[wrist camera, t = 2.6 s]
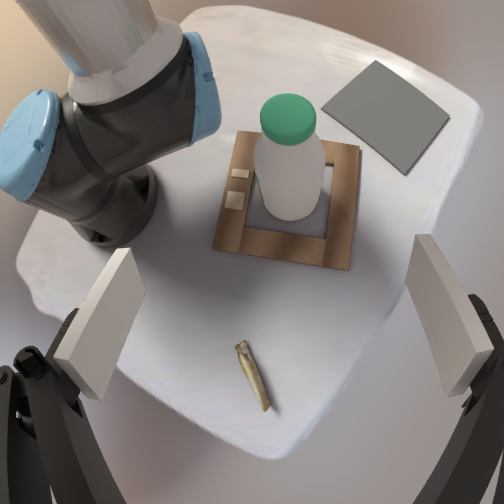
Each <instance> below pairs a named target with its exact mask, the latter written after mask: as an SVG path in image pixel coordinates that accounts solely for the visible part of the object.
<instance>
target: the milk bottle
mask: <svg viewBox="0 0 504 504" xmlns="http://www.w3.org/2000/svg"><path fill="white" fill-rule="evenodd" d="M260 123H261V127H262V134H261V136H260V137H259V139H258V141H257V143H256V146H255V150H254V169H255V174H256V178H257V182H258V186H259V189H260V193H261V197H262V200H263V203H264V205H265V207H266V209H267V210H268V211H269V212H270V213H271V214H272V215H273V216H275V217H276V218H279V219H281V220H285V221H296V220H300V219H303V218H305V217H306V216H308V215H309V214H310V213H311V212H312V211H313V210H314V208H315V207H316V205H317V202H318V199H319V195H320V191H321V186H322V182H323V177H324V171H325V163H326V160H325V151H324V148H323V145H322V142H321V141H320V139H319V137H318V136H317V134H316V133H315V126H316V112H315V110H314V107H313V106H312V104H311V103H310V102H309V101H308V100H307V99H305V98H304V97H302V96H299V95H296V94H289V93H286V94H279V95H276V96H274V97H272V98H270V99H269V100H268V101H267V102H266V103H265V104H264V105H263V107H262V109H261V112H260Z"/></svg>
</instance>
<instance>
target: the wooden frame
mask: <svg viewBox="0 0 504 504" xmlns="http://www.w3.org/2000/svg"><path fill="white" fill-rule="evenodd" d="M261 134H262V133H259V132H248V131H238V132H237V137H236V141H235V145H234V150H233V154H232V159H231V163H230V168H229V173H228V177H227V182H226V187H225V191H224V196H223V201H222V206H221V211H220V215H219V220H218V225H217V230H216V235H215V240H214V246H213V249H214V250H220V251H227V252H233V253H239V254H246V255H252V256H259V257H265V258H271V259H278V260H284V261H291V262H297V263H304V264H310V265H317V266H323V267H329V268H336V269H342V270H348V269H349V262H350V254H351V245H352V237H353V227H354V217H355V206H356V195H357V181H358V166H359V147H360V146H356V145H350V144H344V143H338V142H332V141H325V140H320V141H321V142H322V145H323V148H324V151H325V160H326V163H325V164H330V165H334V168H333V178H332V188H331V197H330V206H329V215H328V223H327V231H326V239H321V238H314V237H308V236H301V235H295V234H288V233H281V232H275V231H268V230H261V229H254V228H247V227H244V224H245V219H246V213H247V208H248V203H249V197H250V192H251V187H252V181H253V176H254V171H255V169H254V150H255V146H256V143H257V141H258V139H259V137H260V136H261Z"/></svg>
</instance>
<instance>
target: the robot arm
mask: <svg viewBox="0 0 504 504" xmlns="http://www.w3.org/2000/svg"><path fill="white" fill-rule="evenodd" d="M14 1H15V2H16V3H17V4H18V5H19V7H20V8H21V9H22V11H23V12H24V13H25V14H26V16H27V17H28V18H29V20H30V21H31V22H32V23H33V24H34V26H35V27H36V28H37V30H38V31H39V32H40V33H41V34H42V36H43V37H44V38H45V39H46V41H47V42H48V43H49V44H50V46H51V47H52V48H53V49H54V51H55V52H56V53H57V54H58V56H59V57H60V58H61V59H62V60H63V62H64V63H65V64H66V65H67V67H68V68H69V69H70V70H71V73H70V77H69V81H68V92H67V93H66V94H64V95H62V96H61V97H58V96H57V94H56V93H55V92H54V91H49V90H42V89H41V90H37V91H35V92H33V93H31V94H30V95H28V96H27V97H26V98H25V99H24V100H23V101H21V102H20V104H19V105H18V106H17V107H16V108H15V109H14V111H13V112H12V114H11V115H10V117H9V118H8V120H7V121H6V123H5V125H4V127H3V130H2V132H1V134H0V188H1V190H3V191H4V192H6V193H8V194H9V195H11V196H13V197H14V198H15V199H16V200H17V201H19V202H24V203H26V204H29V205H31V206H34V207H36V208H39V209H41V210H43V211H46V212H48V213H51V214H53V215H56V216H58V217H61V218H63V219H65V220H67V221H68V222H69V223H70V224H71V225H72V227H73V228H74V229H75V230H76V231H77V233H78V234H79V235H80V236H81V237H82V238H84V239H85V240H86V241H88V242H90V243H93V244H96V245H98V246H102V247H115V246H119V245H122V244H124V243H126V242H128V241H130V240H131V239H133V238H134V237H135V236H136V235H138V234H139V233H140V232H141V230H142V229H143V228H144V227H145V225H146V224H147V223H148V221H149V219H150V217H151V215H152V213H153V211H154V208H155V204H156V199H157V183H156V179H155V176H154V173H153V171H152V170H151V168H150V167H149V166H148V165H147V163H149V162H151V161H153V160H156V159H158V158H161V157H163V156H165V155H168V154H170V153H173V152H175V151H178V150H180V149H183V148H185V147H190V146H192V145H193V144H194V143H195V142H197V141H199V140H201V139H203V138H206V137H208V136H210V135H212V134H213V133H215V132H216V131H217V130H218V128H219V127H220V124H221V119H222V115H221V106H220V100H219V95H218V90H217V86H216V82H215V79H214V77H213V72H212V68H211V63H210V59H209V56H208V53H207V50H206V48H205V45H204V42H203V40H202V38H201V36H200V35H199V34H198V33H197V32H185V33H182V30H181V28H180V26H179V25H178V24H177V23H176V22H175V21H173V20H171V19H168V18H163V17H157V16H156V15H155V13H154V11H153V9H152V6H151V4H150V2H149V0H14ZM405 283H406V285H407V287H408V290H409V292H410V295H411V297H412V299H413V302H414V304H415V307H416V309H417V312H418V314H419V317H420V320H421V322H422V325H423V327H424V330H425V333H426V336H427V338H428V341H429V344H430V347H431V350H432V352H433V355H434V358H435V361H436V364H437V367H438V370H439V373H440V377H441V380H442V383H443V386H444V390H445V393H446V396H447V397H451V396H456V395H460V394H463V393H464V392H465V391H466V389H467V388H468V387H469V385H470V387H471V390H472V394H471V395H470V396H469V398H468V399H467V400H466V401H465V402H464V404H463V405H462V407H465V408H464V411H463V413H462V415H461V417H460V420H459V422H458V424H457V426H456V428H455V430H454V432H453V434H452V436H451V439H450V440H449V442H448V445H447V446H446V448H445V450H444V452H443V454H442V456H441V458H440V460H439V461H438V463H437V465H436V467H435V468H434V470H433V472H432V474H431V475H430V477H429V479H428V480H427V482H426V484H425V485H424V487H423V489H422V490H421V492H420V493H419V495H418V496H417V498H416V499H415V501H414V502H413V504H479V503H480V501H481V499H482V497H483V495H484V493H485V491H486V489H487V487H488V485H489V482H490V480H491V478H492V476H493V473H494V471H495V469H496V466H497V464H498V461H499V459H500V456H501V454H502V451H503V457H502V462H501V467H500V473H499V478H498V482H497V487H496V491H495V495H494V499H493V503H492V504H504V450H503V448H504V340H503V338H502V336H501V334H500V332H499V330H498V328H497V326H496V324H495V322H493V318H492V317H491V315H490V314H489V311H488V309H487V307H486V306H485V304H484V303H483V301H482V300H481V299H480V298H479V297H478V296H476V295H475V294H471V295H467V294H466V292H465V290H464V289H463V287H462V285H461V283H460V282H459V280H458V278H457V276H456V275H455V273H454V271H453V270H452V268H451V266H450V265H449V263H448V261H447V260H446V258H445V257H444V255H443V254H442V252H441V250H440V249H439V247H438V246H437V244H436V242H435V241H434V239H433V238H432V236H431V235H430V234H420V235H415V240H414V245H413V250H412V254H411V259H410V263H409V268H408V272H407V276H406V280H405ZM146 292H147V291H146V289H145V286H144V284H143V281H142V278H141V276H140V273H139V270H138V268H137V265H136V262H135V260H134V257H133V254H132V251H131V249H130V248H119V249H116V251H115V252H114V254H113V255H112V257H111V258H110V260H109V261H108V263H107V264H106V266H105V268H104V269H103V271H102V272H101V274H100V275H99V277H98V279H97V280H96V282H95V284H94V285H93V287H92V288H91V290H90V292H89V293H88V295H87V297H86V298H85V300H84V302H83V304H82V305H81V307H80V308H75V309H74V310H73V311H72V312H71V313H70V314H69V315H68V316H67V318H66V319H65V321H64V323H63V325H62V327H61V328H60V330H59V332H58V334H57V335H56V337H55V339H54V341H53V343H52V344H51V347H50V348H49V350H48V352H47V354H46V356H45V357H44V356H43V355H42V354H41V352H40V351H39V350H38V348H36V347H35V346H27V347H25V348H23V349H22V350H20V351H19V353H18V354H17V355H16V357H15V359H14V363H13V366H14V367H15V368H16V369H17V370H18V371H19V372H17V373H15V372H14V371H13V370H12V369H11V368H10V367H9V366H2V367H0V504H52V497H51V490H50V486H51V489H52V492H53V494H54V497H55V500H56V502H57V504H126V502H125V500H124V498H123V496H122V494H121V492H120V491H119V489H118V487H117V485H116V483H115V481H114V479H113V477H112V475H111V473H110V470H109V468H108V466H107V464H106V462H105V460H104V457H103V455H102V453H101V451H100V448H99V446H98V444H97V441H96V439H95V436H94V434H93V431H92V429H91V426H90V424H89V421H88V418H87V416H86V413H85V410H84V408H83V405H82V402H81V400H80V398H79V397H78V395H79V393H80V391H81V392H82V393H83V394H84V395H85V396H86V397H87V398H89V399H94V400H99V401H102V400H103V397H104V395H105V392H106V389H107V387H108V384H109V381H110V379H111V376H112V374H113V371H114V368H115V366H116V363H117V361H118V358H119V356H120V353H121V351H122V348H123V346H124V343H125V341H126V338H127V336H128V333H129V331H130V329H131V326H132V324H133V322H134V319H135V317H136V315H137V312H138V310H139V308H140V305H141V303H142V301H143V298H144V296H145V294H146ZM16 411H17V412H18V418H16Z"/></svg>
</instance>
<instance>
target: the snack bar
mask: <svg viewBox="0 0 504 504" xmlns="http://www.w3.org/2000/svg"><path fill="white" fill-rule="evenodd" d="M235 349H236V350H237V352H238V358H239V361H240V364H241V366H242V369H243V371H244V373H245V374H246V376H247V378H248V380H249V382H250V384H251V386H252V388H253V390H254V393H255V395H256V397H257V399H258V401H259V403H260V405H261V407H262V409H263V411H264V412H266V410H267V409H268V408H269V407H270V405H271V404H270V403H269V401H268V398H267V395H266V392H265V389H264V386H263V383H262V380H261V378H260V375H259V372H258V370H257V367H256V365H255V362H254V360H253V358H252V356H251V354H250V352H249V350H248V348H247V342H246V340H245V341H243V343H242V342H241V343H240V344H238V345H235Z"/></svg>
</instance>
